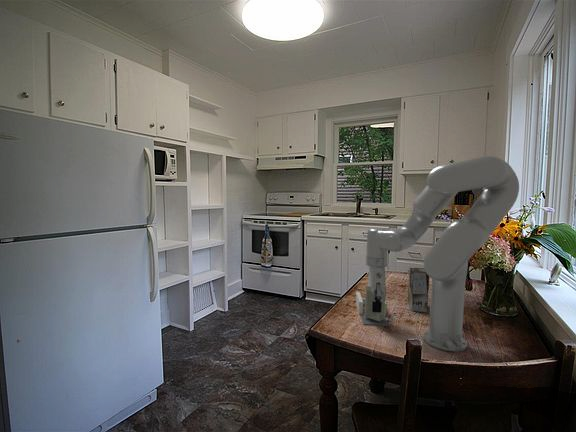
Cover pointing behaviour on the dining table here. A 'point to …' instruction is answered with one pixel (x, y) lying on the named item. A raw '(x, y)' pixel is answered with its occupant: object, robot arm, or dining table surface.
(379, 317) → the skincare box
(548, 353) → the dining table surface
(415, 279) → the coffee box
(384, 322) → the mat
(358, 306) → the rack
